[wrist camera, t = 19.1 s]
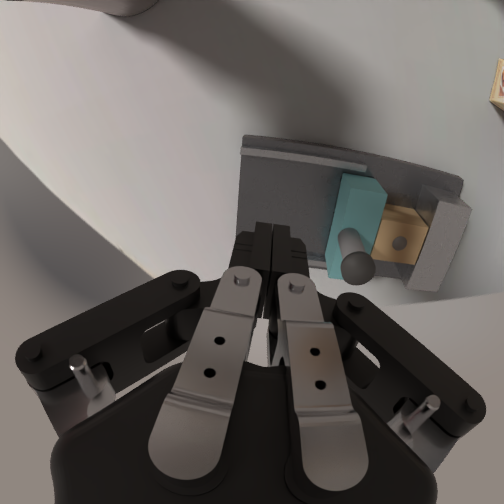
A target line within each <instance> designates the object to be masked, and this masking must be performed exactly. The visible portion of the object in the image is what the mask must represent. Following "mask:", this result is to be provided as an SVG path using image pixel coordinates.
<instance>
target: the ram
mask: <svg viewBox="0 0 504 504" xmlns="http://www.w3.org/2000/svg"><path fill="white" fill-rule="evenodd" d="M387 196H388V194H387V193H386V192H385V190H384V189H383V188H382V187H381V185H380V184H379V183H378V181H377V180H376V179H374V178H369V177H364V176H359V175H353V174H348V173H343V174H342V179H341V184H340V189H339V194H338V199H337V204H336V208H335V213H334V217H333V222H332V226H331V231H330V235H329V239H328V243H327V248H326V252H325V258H326V265H327V271H328V277H329V278H334V279H342V280H344V281H345V282H347V283H348V284H351V285H362V284H365V283H367V282H368V281H370V280H371V279H372V278H373V276H374V274H375V271H376V266H375V263H374V261H373V258H372V257H371V256H370V253H371V250H372V247H373V244H374V241H375V238H376V234H377V231H378V228H379V224H380V221H381V217H382V214H383V210H384V207H385V203H386V199H387Z"/></svg>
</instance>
